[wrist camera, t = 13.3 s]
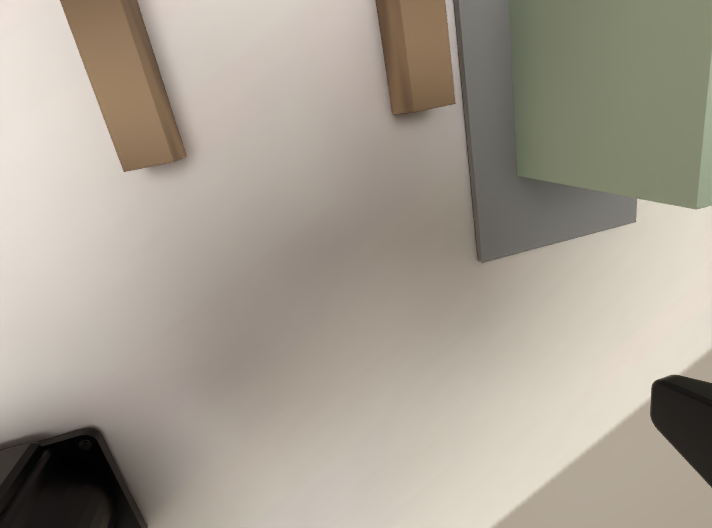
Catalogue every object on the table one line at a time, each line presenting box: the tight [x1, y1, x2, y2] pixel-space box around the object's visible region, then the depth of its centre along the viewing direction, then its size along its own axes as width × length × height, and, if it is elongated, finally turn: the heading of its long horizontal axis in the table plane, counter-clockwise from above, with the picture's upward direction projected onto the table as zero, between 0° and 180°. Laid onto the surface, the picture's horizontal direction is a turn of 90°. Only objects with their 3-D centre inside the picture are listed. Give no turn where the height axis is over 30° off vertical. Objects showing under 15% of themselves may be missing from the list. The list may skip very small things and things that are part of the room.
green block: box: [509, 0, 712, 209], centre depth 14 cm, size 4×7×8 cm, turn 10°
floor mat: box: [454, 0, 637, 263], centre depth 17 cm, size 14×8×1 cm, turn 11°
